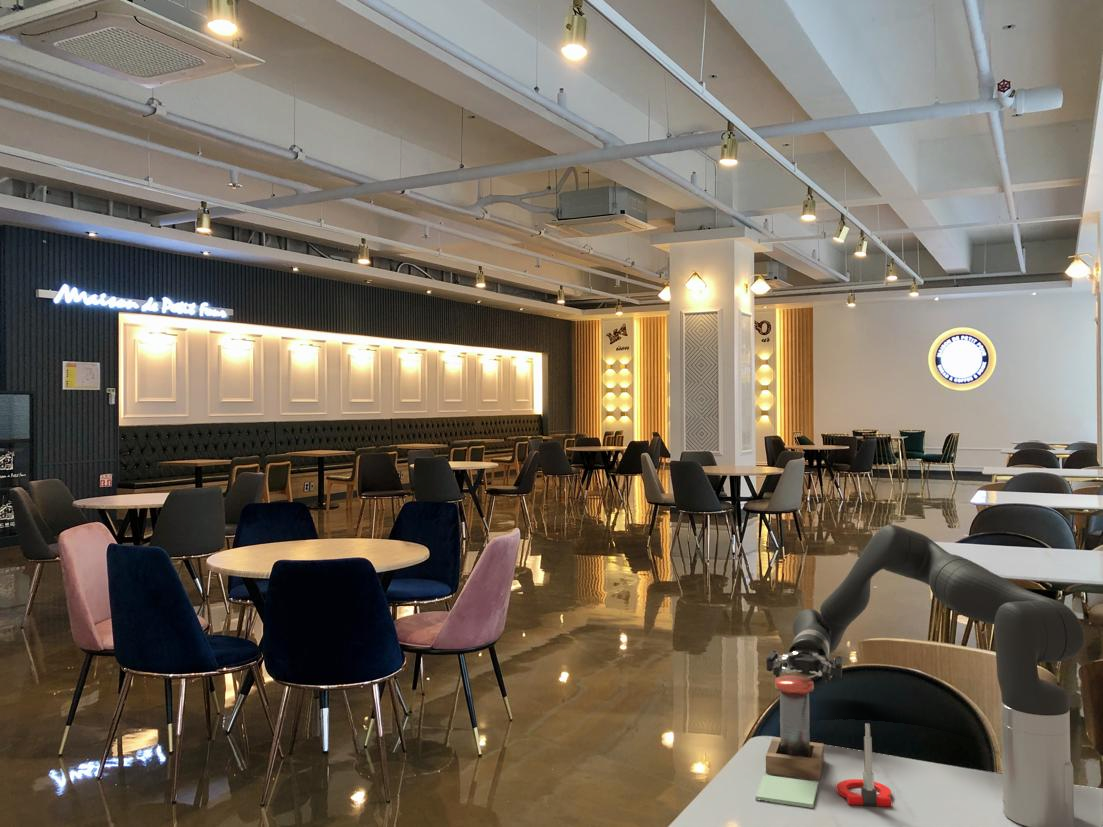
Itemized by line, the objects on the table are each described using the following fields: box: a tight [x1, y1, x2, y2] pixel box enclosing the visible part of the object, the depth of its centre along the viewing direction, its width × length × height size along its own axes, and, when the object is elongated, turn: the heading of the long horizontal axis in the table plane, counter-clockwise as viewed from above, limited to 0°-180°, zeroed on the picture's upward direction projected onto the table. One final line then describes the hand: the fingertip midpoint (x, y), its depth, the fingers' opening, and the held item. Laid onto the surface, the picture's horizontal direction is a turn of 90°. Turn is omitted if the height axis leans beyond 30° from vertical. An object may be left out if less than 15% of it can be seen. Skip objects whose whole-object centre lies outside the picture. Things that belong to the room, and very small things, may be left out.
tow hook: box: [836, 722, 892, 807], centre depth 147 cm, size 8×13×9 cm
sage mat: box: [755, 774, 819, 809], centre depth 148 cm, size 9×9×1 cm
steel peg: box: [774, 675, 815, 758], centre depth 159 cm, size 7×7×15 cm
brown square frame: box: [765, 737, 825, 781], centre depth 159 cm, size 9×9×3 cm
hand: (800, 674), depth 169 cm, fingers open, 8 cm apart
